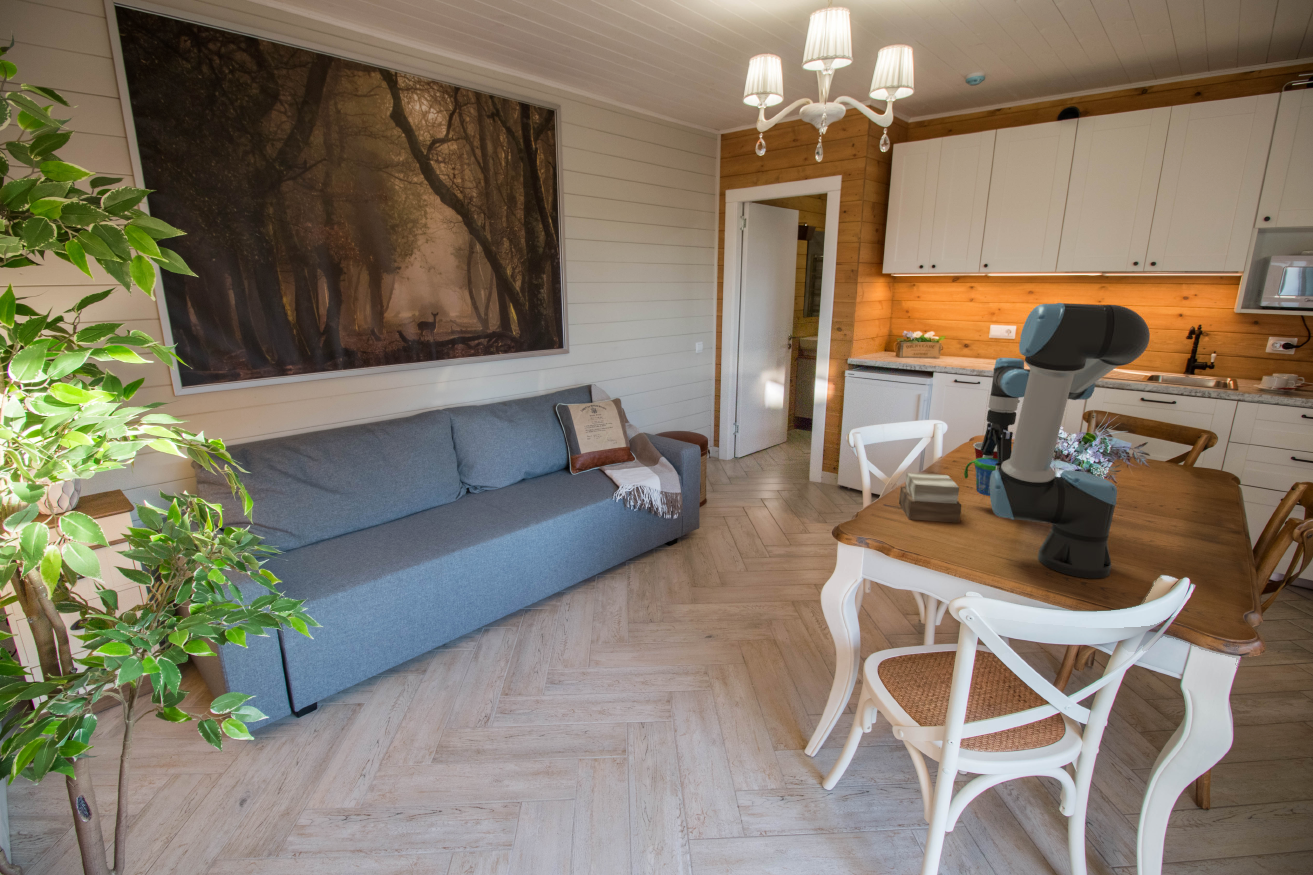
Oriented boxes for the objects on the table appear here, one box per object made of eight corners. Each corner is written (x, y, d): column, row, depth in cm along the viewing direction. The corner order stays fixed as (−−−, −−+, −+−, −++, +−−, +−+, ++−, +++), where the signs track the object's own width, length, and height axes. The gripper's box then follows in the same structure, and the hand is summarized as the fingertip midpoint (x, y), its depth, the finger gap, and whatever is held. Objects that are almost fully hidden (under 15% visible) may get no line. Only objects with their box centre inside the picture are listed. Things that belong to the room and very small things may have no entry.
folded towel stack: (959, 522, 182) (964, 488, 179) (908, 519, 184) (913, 485, 181) (945, 506, 195) (950, 474, 192) (898, 502, 197) (902, 471, 195)
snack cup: (956, 490, 194) (960, 458, 191) (971, 484, 200) (976, 454, 198) (1009, 503, 182) (1014, 470, 180) (1023, 497, 189) (1029, 464, 186)
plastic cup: (961, 473, 229) (966, 442, 226) (985, 471, 232) (990, 440, 229) (985, 482, 219) (990, 449, 216) (1009, 480, 222) (1014, 448, 219)
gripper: (1032, 418, 174) (1019, 493, 178) (1001, 404, 196) (991, 471, 201) (1003, 416, 175) (991, 491, 180) (976, 403, 197) (966, 469, 202)
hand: (991, 480), depth 190 cm, fingers closed on snack cup, 11 cm apart
